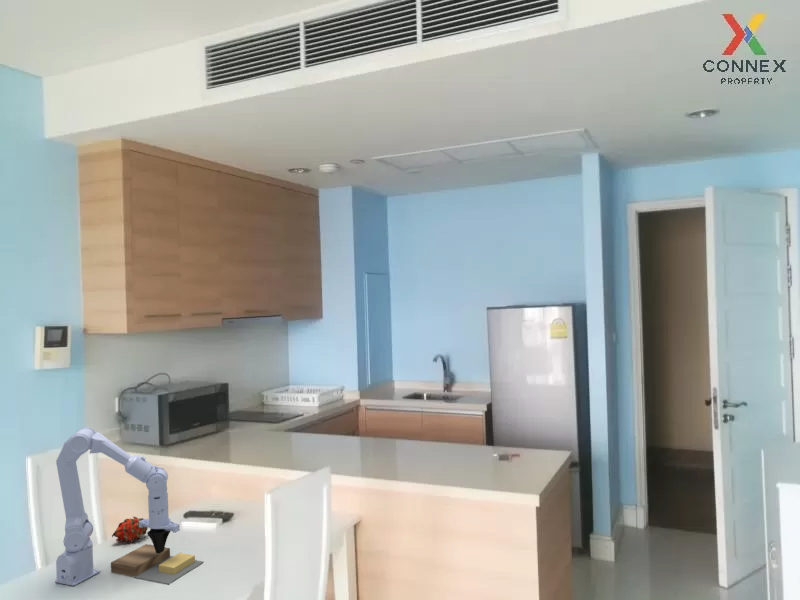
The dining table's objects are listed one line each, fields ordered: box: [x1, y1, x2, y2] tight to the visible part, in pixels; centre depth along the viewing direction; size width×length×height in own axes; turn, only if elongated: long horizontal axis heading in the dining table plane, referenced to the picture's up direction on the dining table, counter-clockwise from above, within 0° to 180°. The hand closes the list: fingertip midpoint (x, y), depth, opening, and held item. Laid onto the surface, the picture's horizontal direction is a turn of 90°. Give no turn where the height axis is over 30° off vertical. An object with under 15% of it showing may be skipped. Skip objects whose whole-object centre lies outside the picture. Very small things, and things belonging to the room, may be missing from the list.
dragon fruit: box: [111, 516, 149, 543], centre depth 206 cm, size 8×8×12 cm
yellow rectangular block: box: [159, 552, 196, 574], centre depth 185 cm, size 9×6×2 cm, turn 158°
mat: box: [134, 555, 205, 586], centre depth 183 cm, size 15×13×1 cm
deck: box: [110, 543, 171, 578], centre depth 187 cm, size 14×10×3 cm
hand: (160, 552), depth 187 cm, fingers closed
